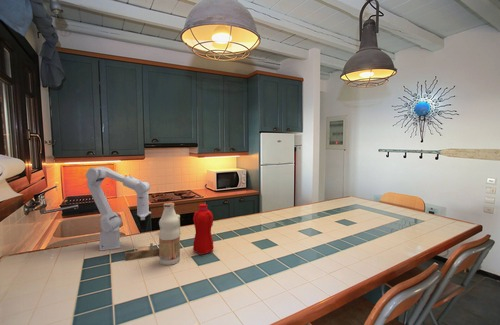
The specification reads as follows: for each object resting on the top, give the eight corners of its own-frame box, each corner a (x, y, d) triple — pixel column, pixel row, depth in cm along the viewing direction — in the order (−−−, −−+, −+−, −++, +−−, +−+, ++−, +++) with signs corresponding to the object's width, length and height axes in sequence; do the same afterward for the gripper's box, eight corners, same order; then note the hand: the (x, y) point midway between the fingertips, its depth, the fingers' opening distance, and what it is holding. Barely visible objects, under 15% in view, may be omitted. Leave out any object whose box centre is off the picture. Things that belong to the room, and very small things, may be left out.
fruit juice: (160, 267, 116) (159, 206, 114) (158, 258, 124) (157, 202, 122) (181, 263, 120) (181, 204, 118) (178, 255, 129) (177, 200, 126)
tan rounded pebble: (136, 257, 126) (136, 251, 125) (137, 252, 131) (137, 247, 131) (149, 255, 128) (149, 250, 128) (149, 251, 133) (149, 245, 133)
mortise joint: (125, 260, 122) (125, 253, 122) (126, 253, 130) (126, 246, 130) (160, 255, 128) (160, 248, 128) (160, 248, 136) (159, 242, 136)
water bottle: (218, 249, 135) (218, 203, 133) (201, 256, 127) (201, 207, 125) (207, 245, 142) (207, 200, 140) (190, 251, 134) (190, 204, 132)
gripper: (151, 207, 130) (151, 233, 131) (151, 201, 144) (151, 224, 145) (135, 208, 128) (136, 234, 129) (137, 201, 141) (137, 225, 142)
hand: (143, 229), depth 137 cm, fingers closed
